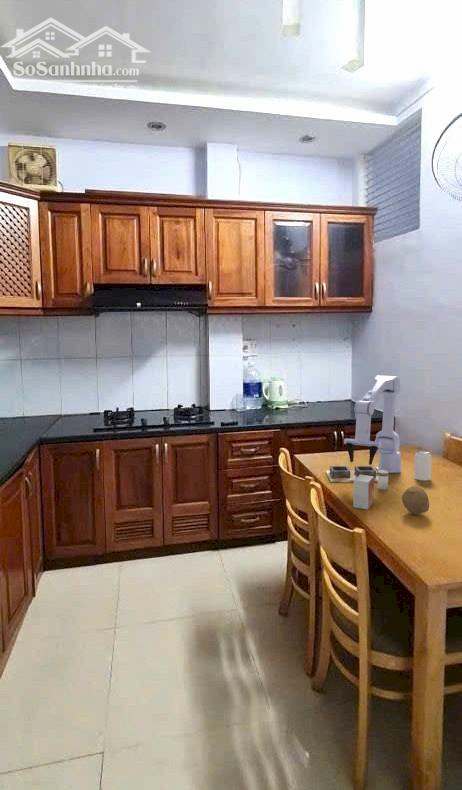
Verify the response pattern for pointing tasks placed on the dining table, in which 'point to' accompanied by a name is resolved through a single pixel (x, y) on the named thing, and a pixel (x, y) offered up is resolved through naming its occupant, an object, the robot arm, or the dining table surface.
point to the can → (422, 465)
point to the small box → (363, 492)
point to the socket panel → (349, 473)
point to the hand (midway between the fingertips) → (361, 463)
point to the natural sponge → (415, 500)
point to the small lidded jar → (383, 479)
